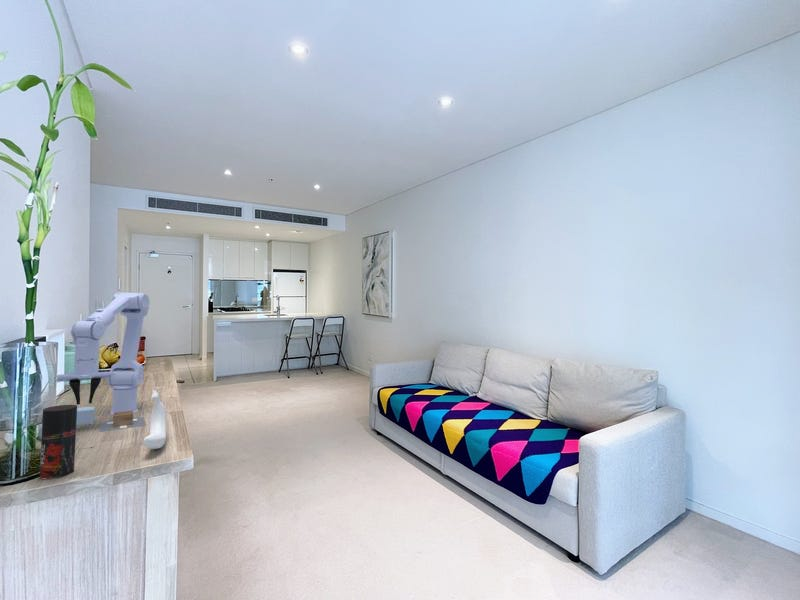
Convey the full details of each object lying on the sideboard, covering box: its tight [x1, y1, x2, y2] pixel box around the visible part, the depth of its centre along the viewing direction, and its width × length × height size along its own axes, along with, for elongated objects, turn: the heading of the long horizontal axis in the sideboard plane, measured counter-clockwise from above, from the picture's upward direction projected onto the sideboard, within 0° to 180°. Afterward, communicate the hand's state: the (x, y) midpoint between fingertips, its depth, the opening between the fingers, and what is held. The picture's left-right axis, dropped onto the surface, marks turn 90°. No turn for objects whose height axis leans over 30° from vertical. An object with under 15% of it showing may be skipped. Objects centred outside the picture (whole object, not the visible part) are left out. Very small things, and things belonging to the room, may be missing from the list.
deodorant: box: [39, 404, 78, 480], centre depth 88 cm, size 6×6×15 cm
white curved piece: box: [142, 389, 167, 450], centre depth 106 cm, size 5×19×15 cm, turn 30°
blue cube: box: [76, 406, 96, 426], centre depth 125 cm, size 5×5×5 cm
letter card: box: [98, 416, 147, 433], centre depth 124 cm, size 12×12×1 cm
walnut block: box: [112, 410, 134, 427], centre depth 125 cm, size 5×5×4 cm
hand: (84, 403), depth 119 cm, fingers open, 2 cm apart
